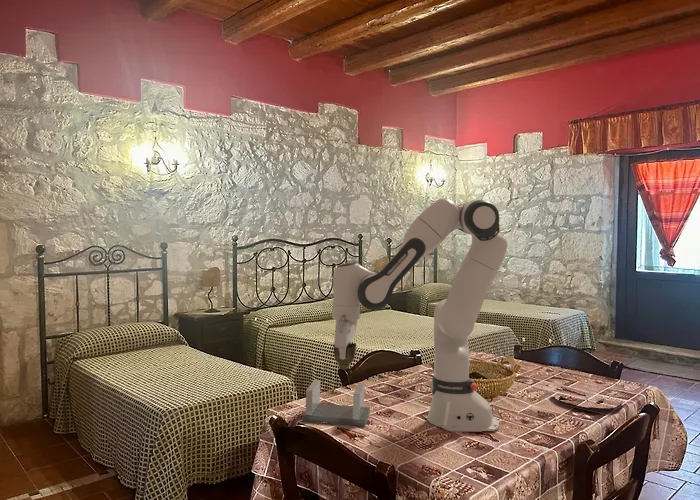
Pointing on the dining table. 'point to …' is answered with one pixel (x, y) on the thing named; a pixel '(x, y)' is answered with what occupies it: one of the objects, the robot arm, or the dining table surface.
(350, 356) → the cup
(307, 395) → the sliding jaw
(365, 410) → the vise
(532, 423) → the dining table surface
